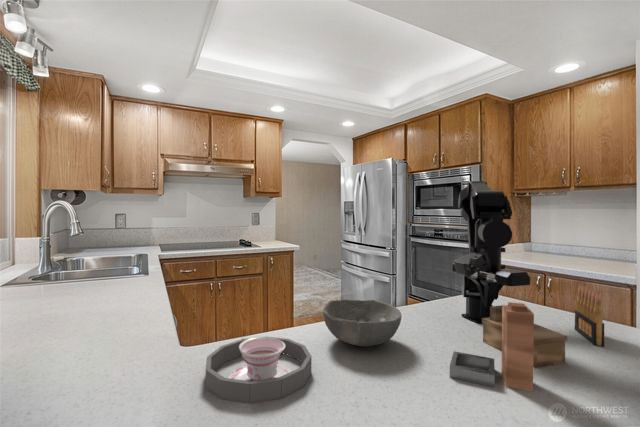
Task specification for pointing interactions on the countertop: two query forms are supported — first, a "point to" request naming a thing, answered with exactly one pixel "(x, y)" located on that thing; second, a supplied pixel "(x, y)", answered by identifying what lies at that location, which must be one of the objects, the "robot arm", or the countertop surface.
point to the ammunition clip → (589, 316)
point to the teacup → (260, 359)
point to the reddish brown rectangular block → (517, 346)
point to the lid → (540, 333)
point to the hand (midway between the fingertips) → (487, 307)
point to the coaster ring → (259, 388)
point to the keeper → (473, 374)
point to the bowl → (361, 321)
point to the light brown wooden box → (541, 353)
